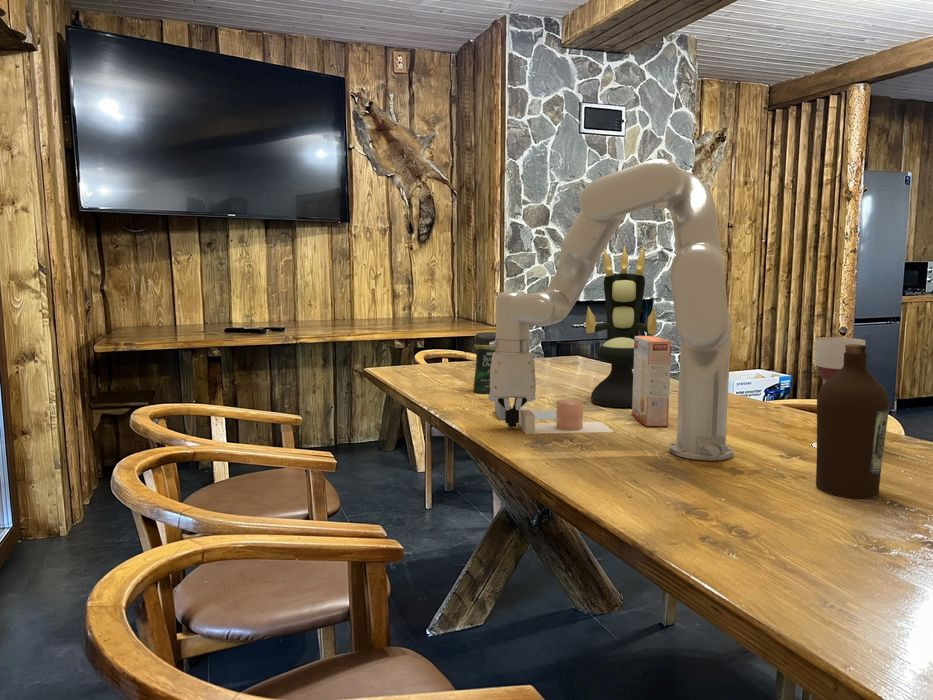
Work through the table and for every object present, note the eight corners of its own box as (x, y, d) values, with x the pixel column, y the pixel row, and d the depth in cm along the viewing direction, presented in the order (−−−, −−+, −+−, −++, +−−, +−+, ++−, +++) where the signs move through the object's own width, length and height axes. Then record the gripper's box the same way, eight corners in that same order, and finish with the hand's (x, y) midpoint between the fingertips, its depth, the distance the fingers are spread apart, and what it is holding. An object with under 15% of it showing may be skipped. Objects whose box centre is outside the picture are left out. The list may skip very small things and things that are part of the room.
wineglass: (812, 451, 141) (818, 341, 138) (806, 439, 150) (812, 336, 148) (862, 455, 138) (870, 342, 135) (853, 443, 147) (860, 338, 145)
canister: (585, 430, 154) (585, 404, 153) (559, 430, 153) (559, 404, 153) (578, 424, 160) (579, 399, 159) (553, 424, 159) (554, 399, 159)
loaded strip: (613, 437, 152) (614, 414, 152) (525, 439, 151) (525, 416, 150) (601, 426, 162) (601, 405, 162) (518, 428, 161) (518, 407, 160)
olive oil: (806, 492, 115) (815, 346, 112) (817, 476, 124) (825, 340, 121) (879, 504, 109) (891, 350, 106) (885, 487, 118) (895, 344, 115)
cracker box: (669, 427, 162) (672, 340, 160) (644, 427, 163) (647, 340, 160) (654, 415, 176) (656, 335, 174) (631, 415, 176) (633, 335, 174)
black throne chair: (583, 407, 186) (586, 241, 180) (588, 393, 207) (591, 244, 202) (654, 411, 181) (660, 240, 176) (652, 396, 203) (657, 243, 197)
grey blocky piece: (581, 423, 166) (581, 402, 165) (499, 425, 164) (499, 404, 164) (571, 414, 176) (571, 395, 175) (494, 416, 174) (494, 396, 174)
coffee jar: (474, 394, 206) (474, 333, 204) (473, 389, 214) (473, 331, 212) (506, 394, 207) (506, 333, 204) (503, 389, 214) (504, 331, 212)
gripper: (481, 349, 149) (481, 430, 151) (548, 348, 150) (547, 429, 152) (477, 345, 156) (477, 423, 158) (541, 344, 158) (540, 421, 160)
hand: (511, 426), depth 155 cm, fingers closed
